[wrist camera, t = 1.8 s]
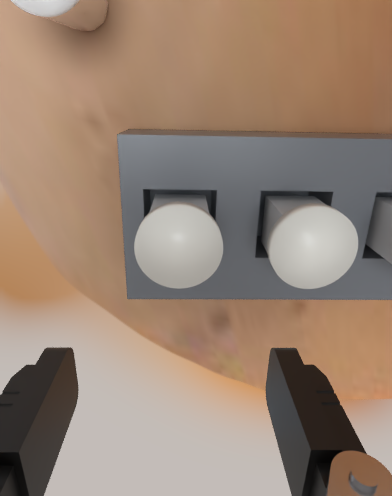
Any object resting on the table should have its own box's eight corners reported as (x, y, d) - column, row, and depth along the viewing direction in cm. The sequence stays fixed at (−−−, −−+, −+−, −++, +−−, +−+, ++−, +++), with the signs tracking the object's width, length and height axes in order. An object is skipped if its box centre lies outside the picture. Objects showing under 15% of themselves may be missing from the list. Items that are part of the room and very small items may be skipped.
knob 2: (326, 185, 25) (366, 208, 20) (316, 251, 27) (349, 289, 22) (255, 184, 25) (275, 207, 20) (249, 251, 27) (266, 288, 22)
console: (435, 134, 28) (484, 140, 23) (398, 271, 32) (434, 299, 28) (128, 129, 27) (116, 134, 22) (135, 270, 32) (127, 299, 27)
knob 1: (216, 184, 25) (225, 206, 20) (213, 250, 27) (221, 288, 22) (143, 183, 25) (131, 205, 20) (146, 250, 27) (136, 288, 21)
